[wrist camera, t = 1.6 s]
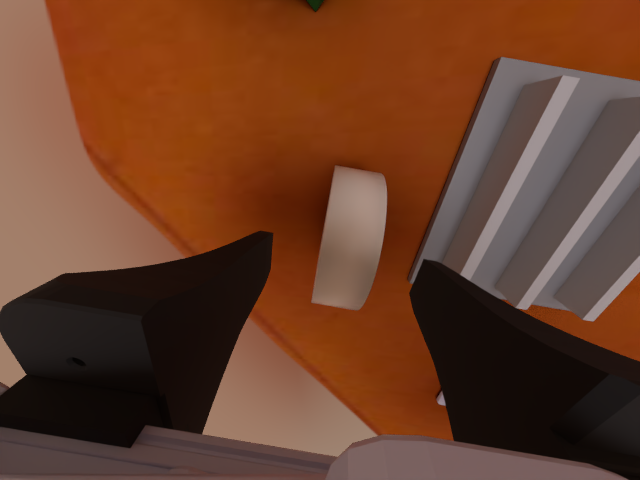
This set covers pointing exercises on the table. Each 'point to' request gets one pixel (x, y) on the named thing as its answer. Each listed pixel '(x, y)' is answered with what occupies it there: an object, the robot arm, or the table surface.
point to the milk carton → (315, 4)
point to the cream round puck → (351, 238)
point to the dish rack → (544, 190)
